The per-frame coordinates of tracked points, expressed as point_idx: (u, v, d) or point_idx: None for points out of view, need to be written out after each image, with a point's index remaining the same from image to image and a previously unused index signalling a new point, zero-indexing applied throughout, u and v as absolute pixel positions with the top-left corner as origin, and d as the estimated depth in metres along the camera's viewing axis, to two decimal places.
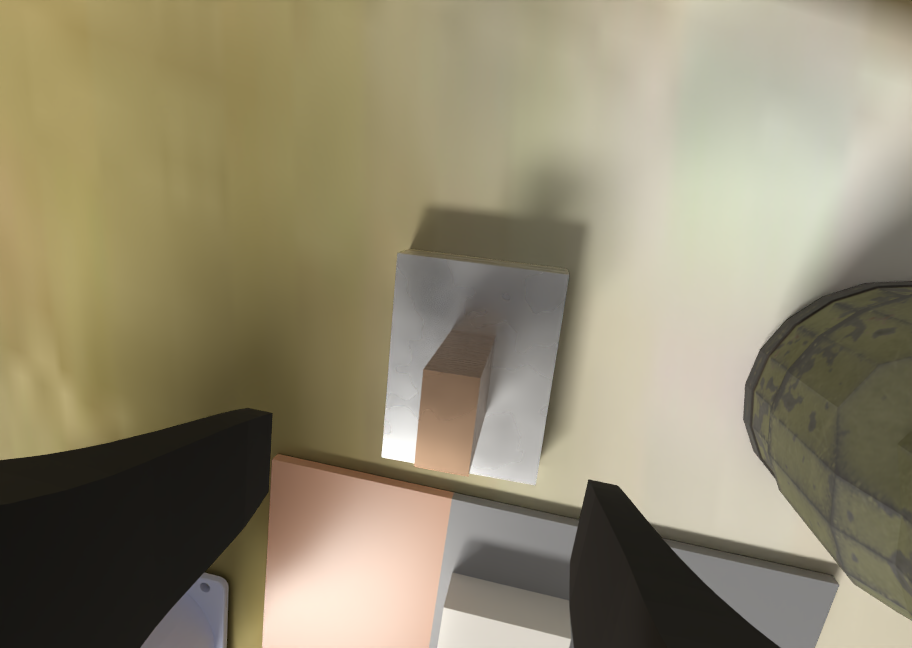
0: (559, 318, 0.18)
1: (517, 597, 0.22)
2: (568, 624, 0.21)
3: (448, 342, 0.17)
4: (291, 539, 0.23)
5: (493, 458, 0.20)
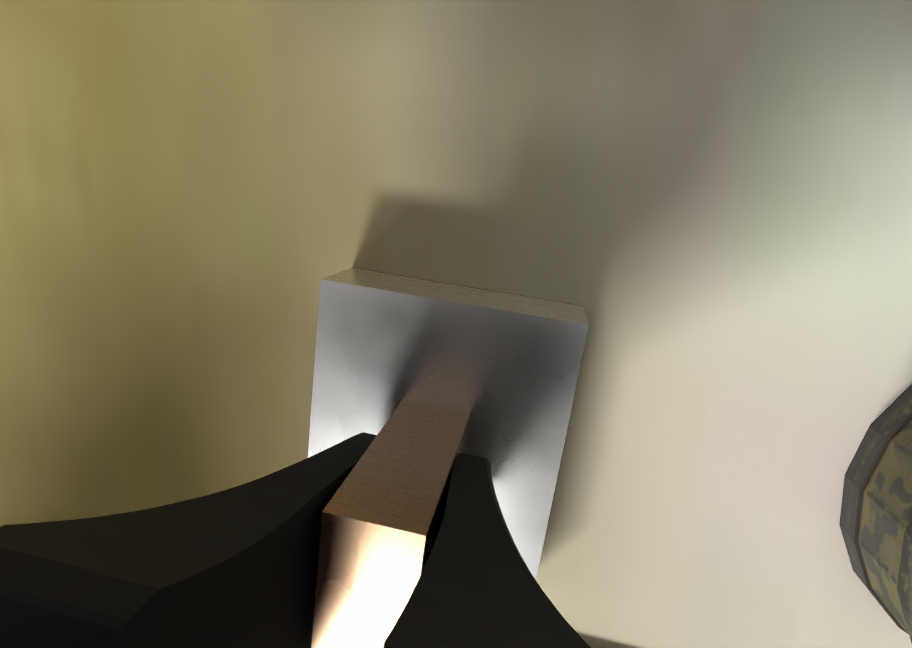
0: (570, 391, 0.11)
1: None
2: None
3: (390, 430, 0.11)
4: None
5: None
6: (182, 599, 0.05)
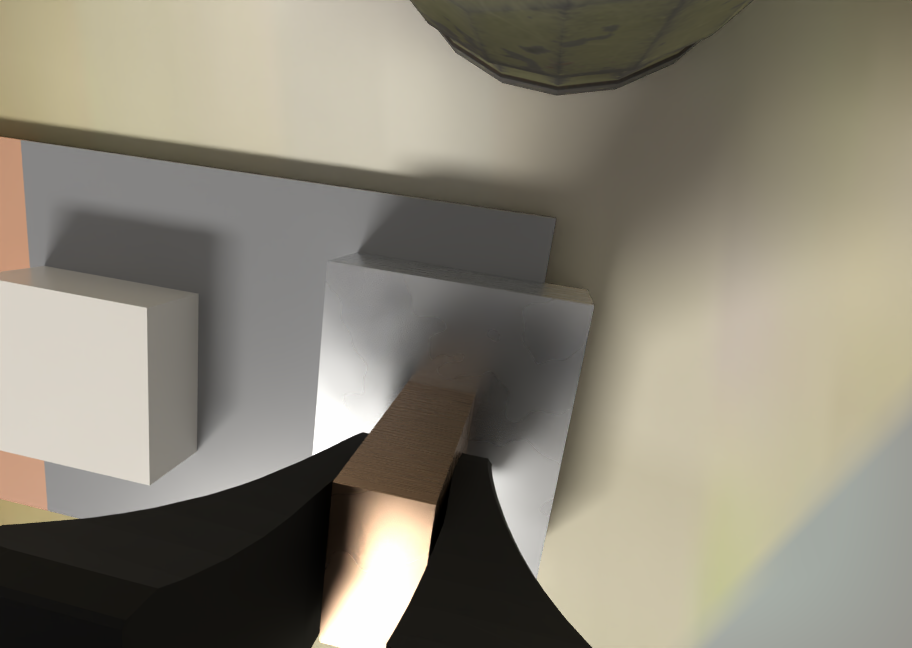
0: (575, 372, 0.11)
1: (116, 284, 0.15)
2: (163, 302, 0.14)
3: (397, 409, 0.11)
4: None
5: None
6: (180, 599, 0.05)
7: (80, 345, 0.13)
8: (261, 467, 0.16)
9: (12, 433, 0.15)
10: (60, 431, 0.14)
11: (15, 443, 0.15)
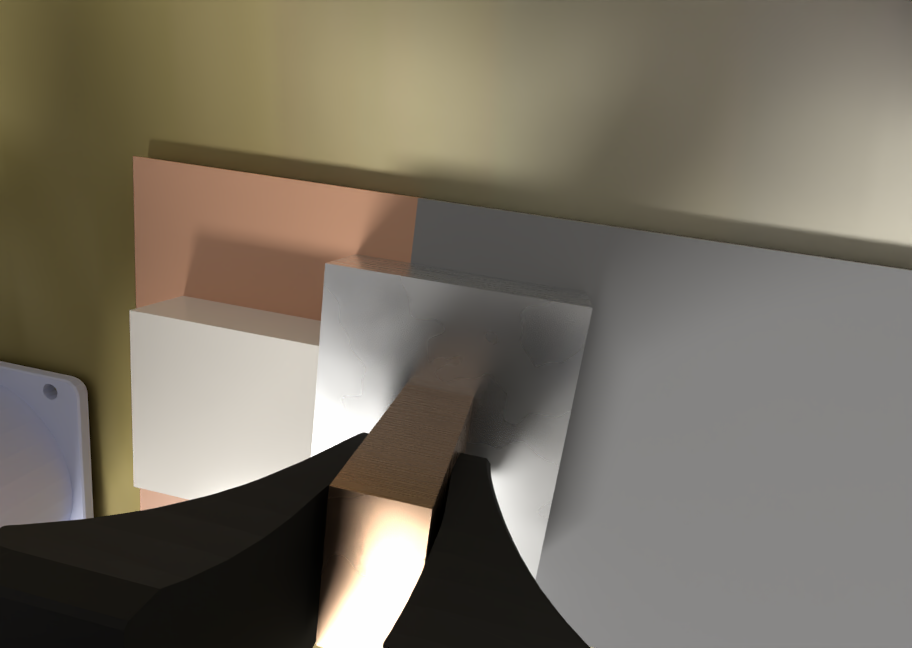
0: (573, 374, 0.11)
1: (266, 317, 0.14)
2: None
3: (394, 412, 0.11)
4: (171, 298, 0.15)
5: None
6: (183, 599, 0.05)
7: (242, 383, 0.13)
8: (650, 555, 0.14)
9: (159, 471, 0.14)
10: (212, 470, 0.14)
11: (161, 482, 0.14)
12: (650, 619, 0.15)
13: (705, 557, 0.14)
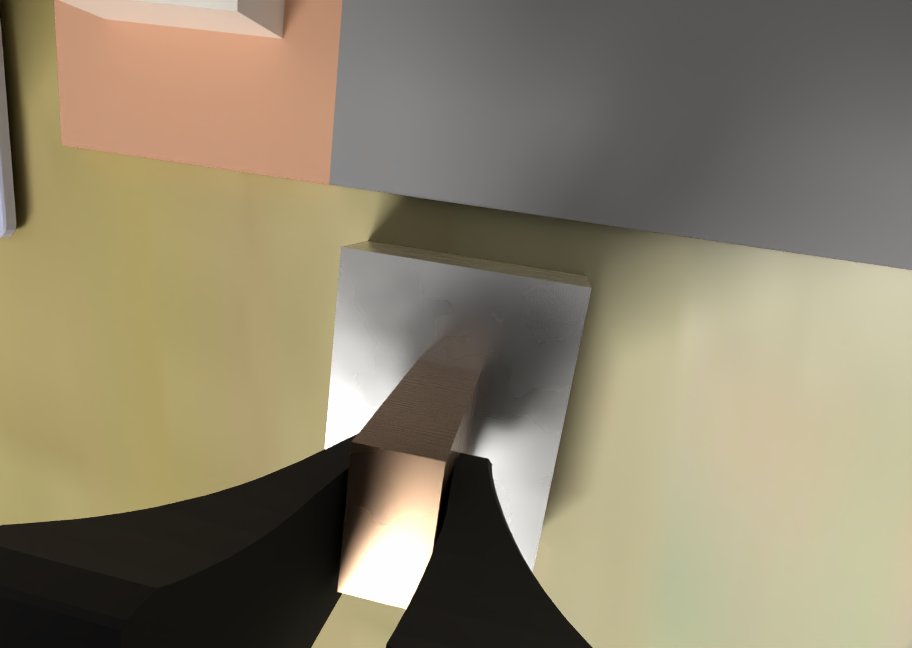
0: (574, 350, 0.12)
1: None
2: None
3: (407, 384, 0.11)
4: None
5: None
6: (180, 599, 0.05)
7: None
8: (657, 76, 0.12)
9: None
10: None
11: None
12: (657, 171, 0.12)
13: (724, 68, 0.12)
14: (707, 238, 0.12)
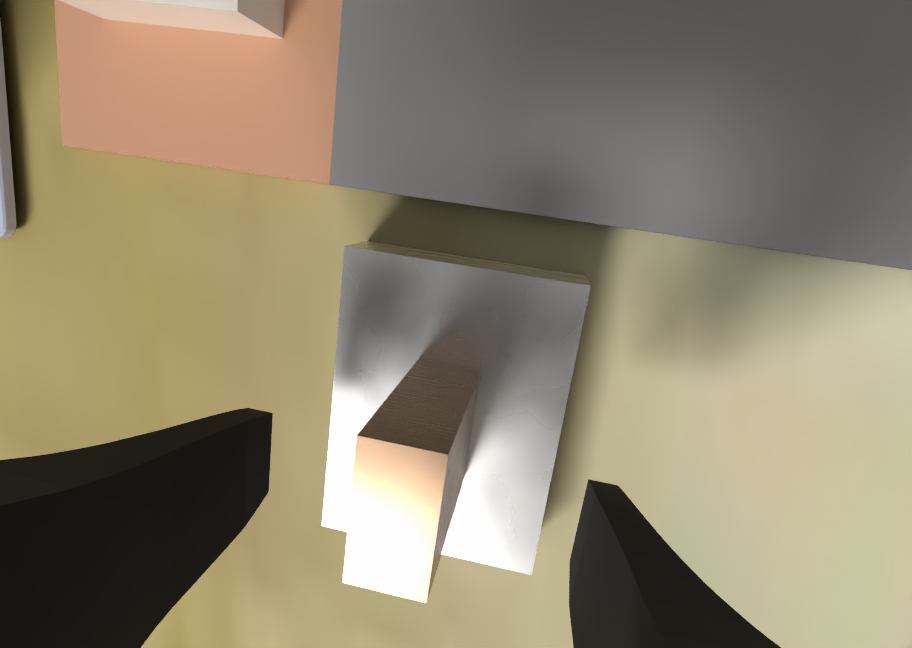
0: (573, 348, 0.12)
1: None
2: None
3: (410, 380, 0.12)
4: None
5: (474, 535, 0.14)
6: None
7: None
8: (658, 76, 0.12)
9: None
10: None
11: None
12: (658, 171, 0.12)
13: (724, 68, 0.12)
14: (707, 238, 0.12)
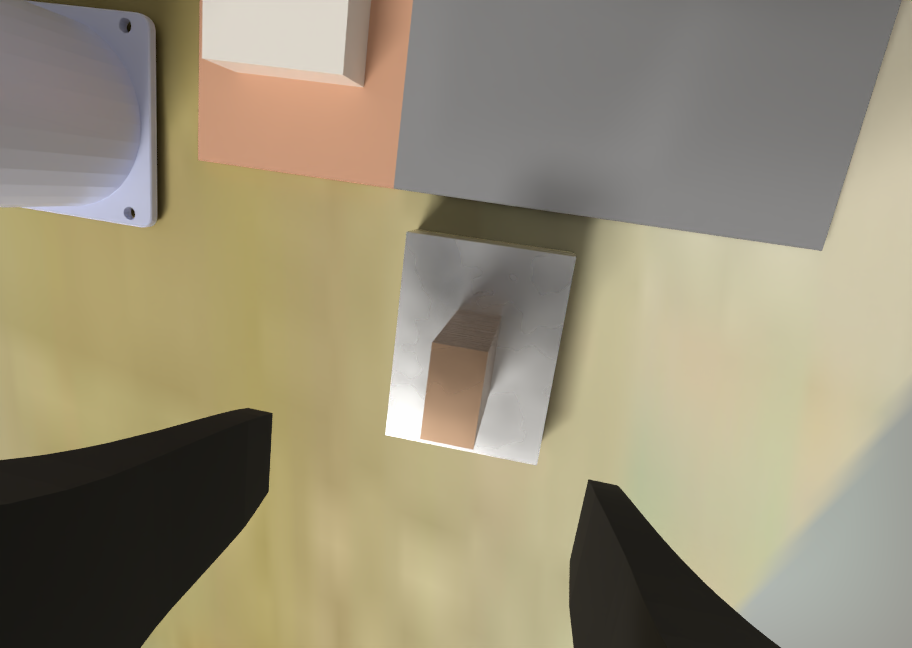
0: (565, 300, 0.18)
1: None
2: None
3: (455, 320, 0.17)
4: None
5: (496, 437, 0.20)
6: None
7: None
8: (621, 115, 0.18)
9: (223, 39, 0.17)
10: (267, 31, 0.17)
11: (224, 49, 0.17)
12: (622, 180, 0.18)
13: (665, 111, 0.17)
14: (657, 225, 0.18)
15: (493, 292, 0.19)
